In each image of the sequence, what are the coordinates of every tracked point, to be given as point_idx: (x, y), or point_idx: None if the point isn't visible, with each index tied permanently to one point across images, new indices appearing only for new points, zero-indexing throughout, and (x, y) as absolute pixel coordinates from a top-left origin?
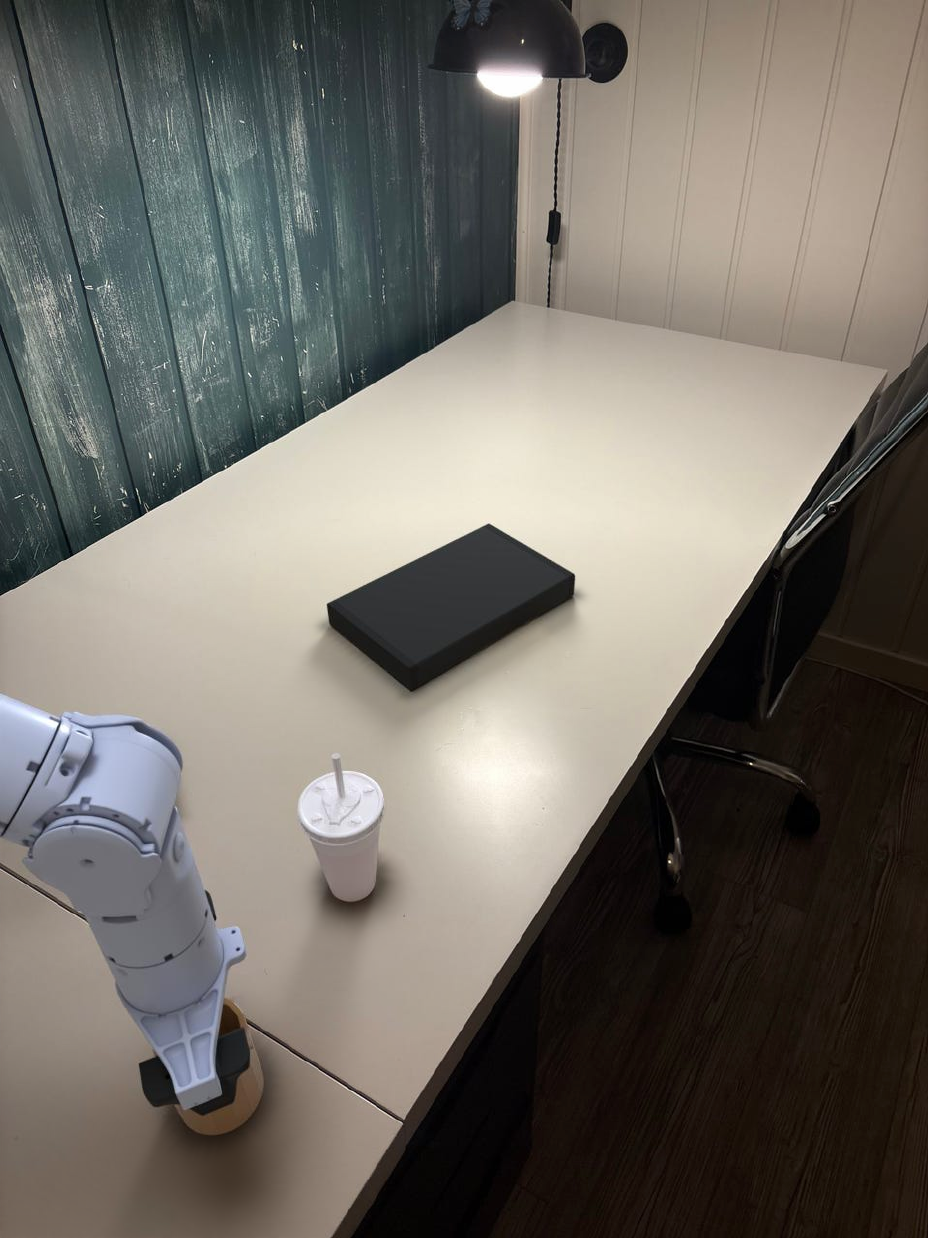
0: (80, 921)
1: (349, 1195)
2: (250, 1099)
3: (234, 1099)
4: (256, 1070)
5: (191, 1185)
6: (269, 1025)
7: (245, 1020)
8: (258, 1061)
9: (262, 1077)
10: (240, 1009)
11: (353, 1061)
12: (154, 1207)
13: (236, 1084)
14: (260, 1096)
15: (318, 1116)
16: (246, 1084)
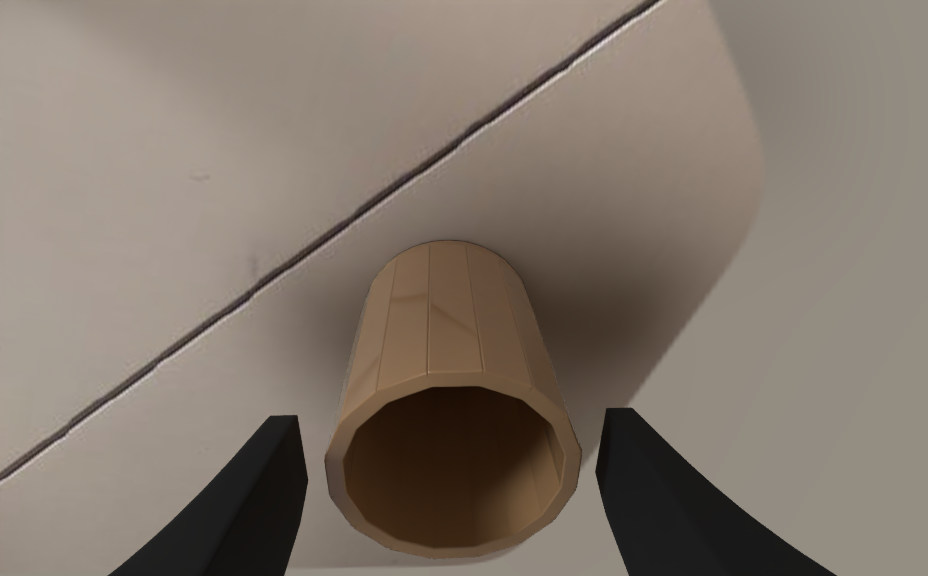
0: (4, 487)
1: (759, 140)
2: (523, 294)
3: (634, 410)
4: (492, 287)
5: (580, 380)
6: (344, 202)
7: (453, 369)
8: (466, 273)
9: (470, 251)
10: (412, 377)
11: (509, 35)
12: (581, 428)
13: (696, 471)
14: (496, 256)
15: (586, 155)
16: (531, 324)
